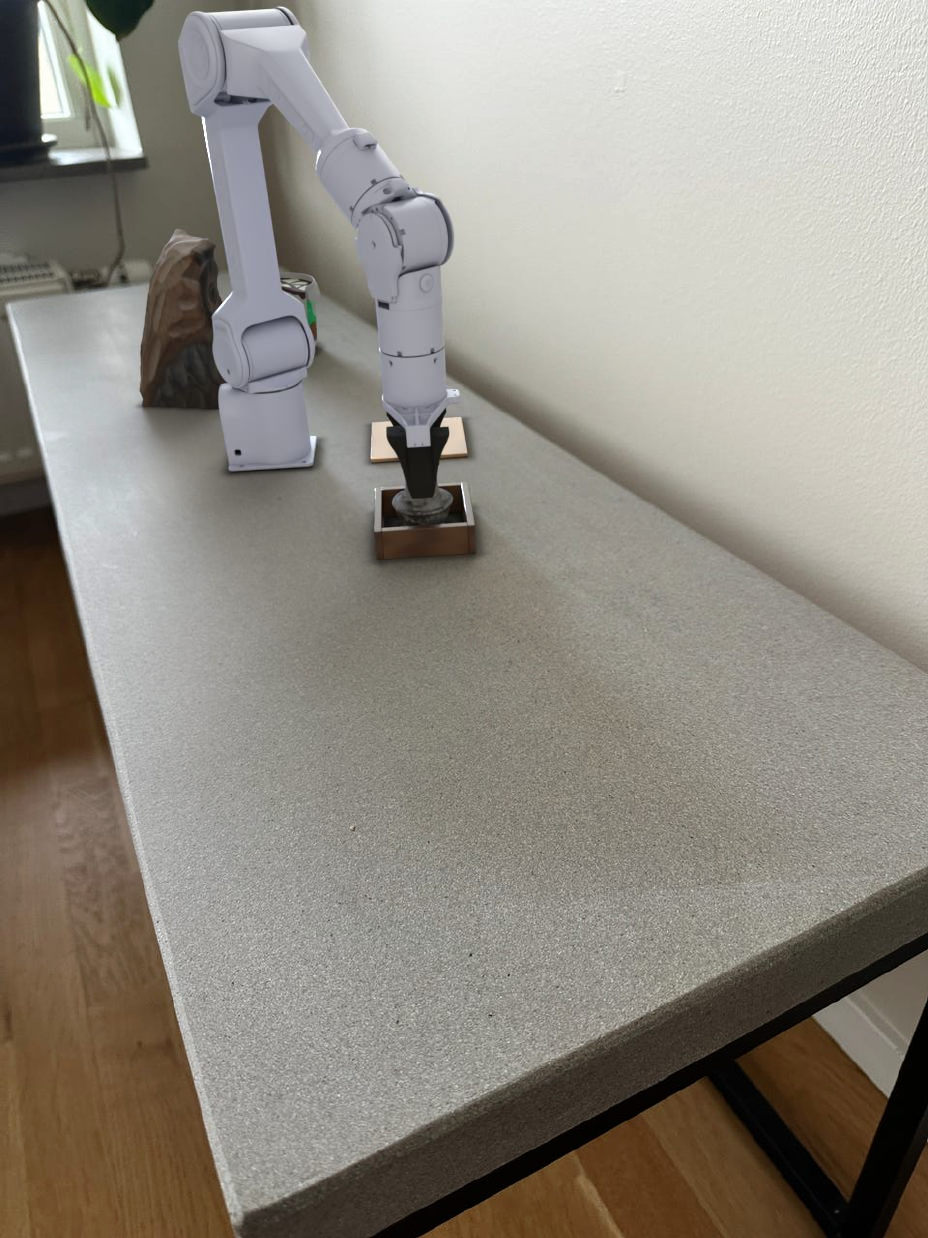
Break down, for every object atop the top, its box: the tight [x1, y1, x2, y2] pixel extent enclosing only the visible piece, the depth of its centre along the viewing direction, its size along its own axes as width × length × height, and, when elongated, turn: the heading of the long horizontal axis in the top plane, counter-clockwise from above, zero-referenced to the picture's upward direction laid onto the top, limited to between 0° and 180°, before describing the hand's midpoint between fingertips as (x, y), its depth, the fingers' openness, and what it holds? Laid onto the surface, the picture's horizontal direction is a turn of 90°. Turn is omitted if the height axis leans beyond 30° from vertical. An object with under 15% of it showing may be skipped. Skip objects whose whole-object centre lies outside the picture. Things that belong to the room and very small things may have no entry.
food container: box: [279, 272, 321, 353], centre depth 143 cm, size 12×6×10 cm, turn 58°
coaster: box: [370, 416, 469, 463], centre depth 113 cm, size 11×11×1 cm
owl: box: [139, 228, 227, 410], centre depth 124 cm, size 13×13×20 cm
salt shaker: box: [392, 464, 453, 527], centre depth 91 cm, size 6×6×12 cm
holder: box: [373, 481, 477, 561], centre depth 94 cm, size 9×9×3 cm
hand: (421, 487), depth 92 cm, fingers closed on salt shaker, 3 cm apart
